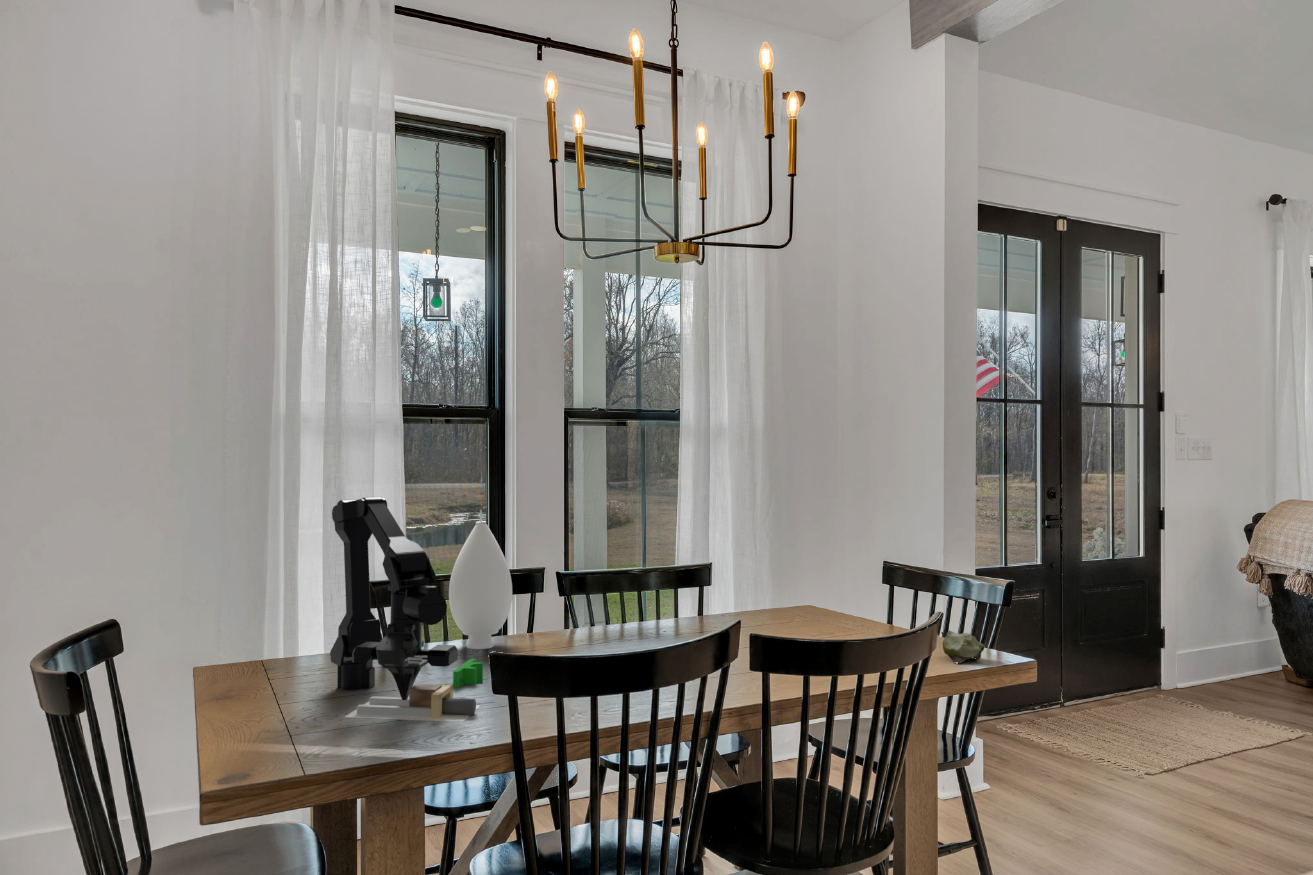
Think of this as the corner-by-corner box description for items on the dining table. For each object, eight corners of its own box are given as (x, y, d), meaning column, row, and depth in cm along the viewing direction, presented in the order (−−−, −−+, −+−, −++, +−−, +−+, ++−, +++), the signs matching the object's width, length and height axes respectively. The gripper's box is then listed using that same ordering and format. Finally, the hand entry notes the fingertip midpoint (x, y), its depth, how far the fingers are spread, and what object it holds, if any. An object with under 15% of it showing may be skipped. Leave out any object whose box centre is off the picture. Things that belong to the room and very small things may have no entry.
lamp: (515, 651, 215) (516, 510, 216) (449, 655, 211) (451, 511, 212) (508, 638, 231) (509, 506, 231) (447, 641, 226) (448, 507, 227)
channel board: (344, 722, 159) (344, 693, 159) (368, 706, 169) (368, 679, 169) (463, 727, 156) (463, 697, 157) (480, 710, 166) (480, 682, 166)
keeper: (409, 713, 161) (409, 688, 161) (416, 707, 164) (416, 684, 164) (435, 714, 160) (435, 689, 161) (441, 708, 164) (441, 684, 164)
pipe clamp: (470, 694, 178) (470, 672, 178) (453, 693, 179) (453, 671, 179) (487, 679, 190) (487, 658, 190) (470, 679, 190) (470, 658, 190)
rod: (436, 716, 161) (433, 704, 160) (440, 706, 163) (438, 694, 162) (472, 718, 160) (470, 706, 159) (476, 707, 163) (474, 695, 161)
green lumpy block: (934, 663, 211) (933, 629, 213) (967, 664, 214) (965, 630, 216) (958, 664, 203) (956, 629, 204) (991, 665, 205) (990, 631, 207)
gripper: (338, 623, 156) (337, 710, 156) (438, 627, 154) (437, 715, 154) (366, 611, 167) (364, 693, 167) (459, 615, 165) (458, 697, 165)
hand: (404, 699), depth 163 cm, fingers closed
